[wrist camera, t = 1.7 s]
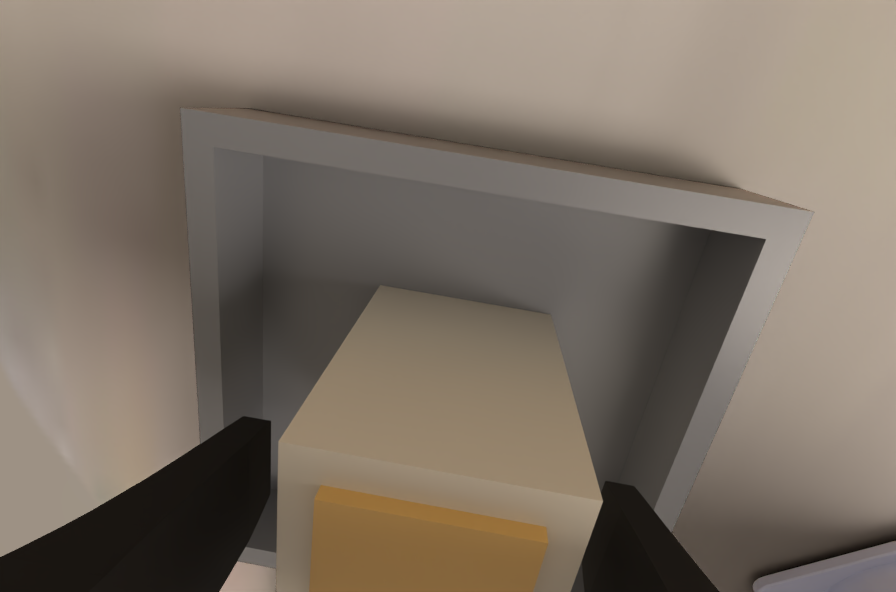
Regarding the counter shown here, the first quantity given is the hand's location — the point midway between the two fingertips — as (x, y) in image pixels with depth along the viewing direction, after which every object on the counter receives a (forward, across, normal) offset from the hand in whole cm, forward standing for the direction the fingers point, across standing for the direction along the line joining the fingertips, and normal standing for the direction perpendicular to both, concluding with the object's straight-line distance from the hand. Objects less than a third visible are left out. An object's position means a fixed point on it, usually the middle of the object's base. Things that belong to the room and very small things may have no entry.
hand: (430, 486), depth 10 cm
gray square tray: (+5, 0, 0) cm, 5 cm away
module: (+5, 0, 0) cm, 5 cm away
